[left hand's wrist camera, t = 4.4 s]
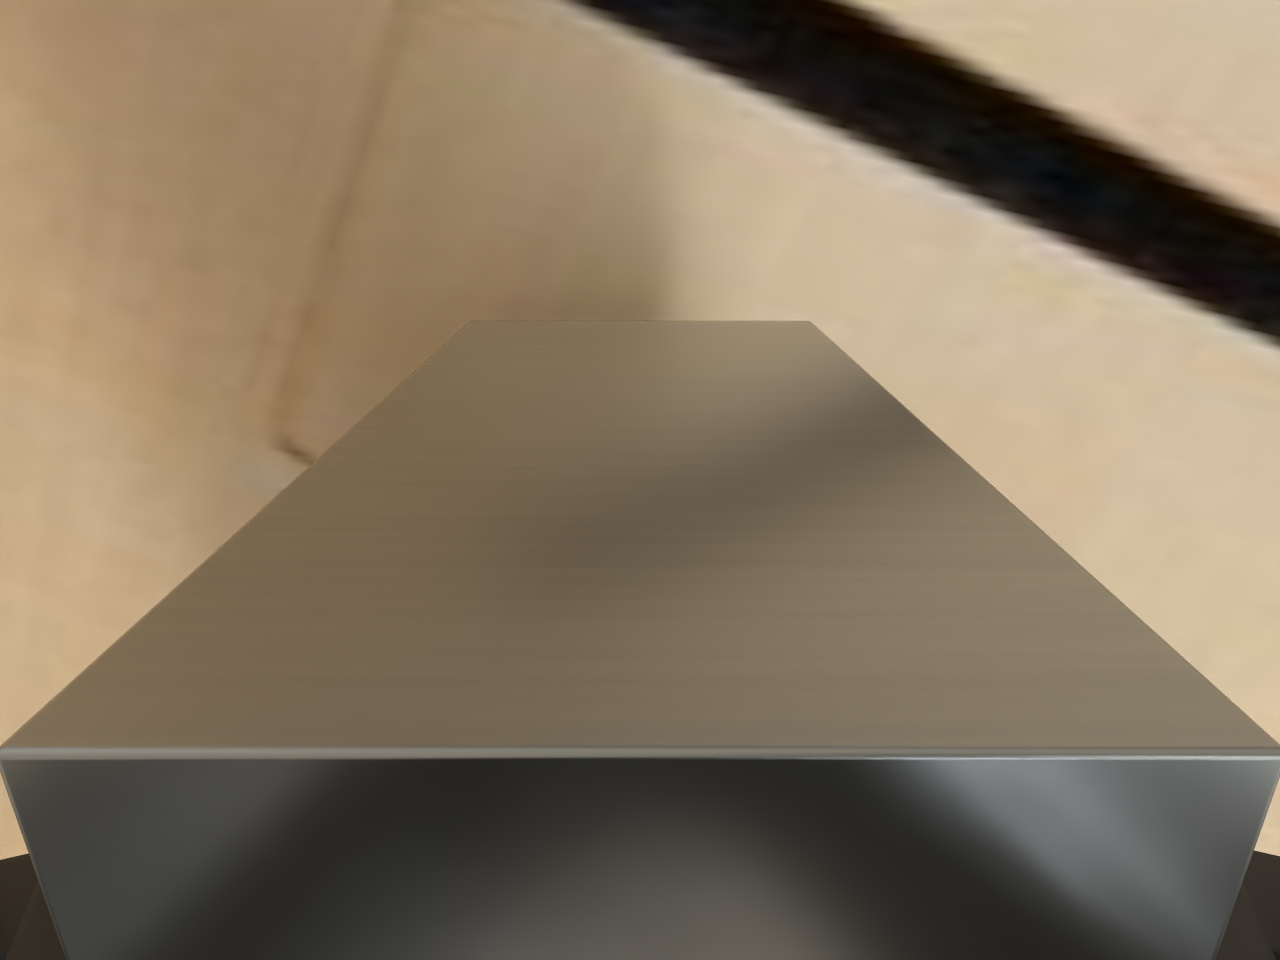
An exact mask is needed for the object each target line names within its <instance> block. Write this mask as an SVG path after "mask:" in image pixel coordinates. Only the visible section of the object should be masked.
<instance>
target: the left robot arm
mask: <svg viewBox="0 0 1280 960" xmlns="http://www.w3.org/2000/svg"><path fill="white" fill-rule="evenodd" d="M0 960H66V957H65V955H64V952H63V949H62V946H61V943H60V940H59V938H58V935H57V932H56V929H55V926H54V923H53V920H52V918H51V915H50V912H49V909H48V906H47V903H46V901H45V898H44V895H43V892H42V889H41V886H40V883H39V881H38V878H37V875H36V872H35V869H34V866H33V864H32V861H31V858H30V855H29V854H25V855H20V856H16V857H11V858H7V859H3V860H0ZM1215 960H1280V856H1275V855H1271V854H1267V853H1262V852H1258V851H1253V854H1252V856H1251V859H1250V862H1249V865H1248V868H1247V871H1246V874H1245V876H1244V879H1243V882H1242V885H1241V888H1240V891H1239V893H1238V896H1237V899H1236V902H1235V905H1234V908H1233V910H1232V913H1231V916H1230V919H1229V922H1228V925H1227V927H1226V930H1225V933H1224V936H1223V939H1222V942H1221V944H1220V947H1219V950H1218V953H1217V956H1216V959H1215Z"/></svg>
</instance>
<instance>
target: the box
mask: <svg viewBox="0 0 1280 960" xmlns="http://www.w3.org/2000/svg"><path fill="white" fill-rule="evenodd" d="M0 773H1V775H2V778H3V781H4V784H5V787H6V790H7V792H8V795H9V798H10V801H11V804H12V807H13V810H14V812H15V815H16V818H17V821H18V824H19V827H20V829H21V832H22V835H23V838H24V841H25V844H26V847H27V849H28V852H29V855H30V858H31V861H32V864H33V866H34V869H35V872H36V875H37V878H38V881H39V883H40V886H41V889H42V892H43V895H44V898H45V901H46V903H47V906H48V909H49V912H50V915H51V918H52V920H53V923H54V926H55V929H56V932H57V935H58V938H59V940H60V943H61V946H62V949H63V952H64V955H65V957H66V960H1215V959H1216V956H1217V953H1218V950H1219V947H1220V944H1221V942H1222V939H1223V936H1224V933H1225V930H1226V927H1227V925H1228V922H1229V919H1230V916H1231V913H1232V910H1233V908H1234V905H1235V902H1236V899H1237V896H1238V893H1239V891H1240V888H1241V885H1242V882H1243V879H1244V876H1245V874H1246V871H1247V868H1248V865H1249V862H1250V859H1251V856H1252V854H1253V851H1254V848H1255V845H1256V842H1257V839H1258V837H1259V834H1260V831H1261V828H1262V825H1263V822H1264V820H1265V817H1266V814H1267V811H1268V808H1269V805H1270V803H1271V800H1272V797H1273V794H1274V791H1275V788H1276V786H1277V783H1278V780H1279V777H1280V744H1278V743H1277V742H1276V741H1275V740H1274V739H1273V738H1272V737H1271V736H1270V735H1268V734H1267V733H1266V732H1265V731H1264V730H1263V729H1262V728H1261V727H1260V726H1258V725H1257V724H1256V723H1255V722H1254V721H1253V720H1252V719H1251V718H1250V717H1248V716H1247V715H1246V714H1245V713H1244V712H1243V711H1242V710H1241V709H1240V708H1239V707H1237V706H1236V705H1235V704H1234V703H1233V702H1232V701H1231V700H1230V699H1229V698H1227V697H1226V696H1225V695H1224V694H1223V693H1222V692H1221V691H1220V690H1219V689H1217V688H1216V687H1215V686H1214V685H1213V684H1212V683H1211V682H1210V681H1209V680H1207V679H1206V678H1205V677H1204V676H1203V675H1202V674H1201V673H1200V672H1199V671H1197V670H1196V669H1195V668H1194V667H1193V666H1192V665H1191V664H1190V663H1189V662H1188V661H1186V660H1185V659H1184V658H1183V657H1182V656H1181V655H1180V654H1179V653H1178V652H1176V651H1175V650H1174V649H1173V648H1172V647H1171V646H1170V645H1169V644H1168V643H1166V642H1165V641H1164V640H1163V639H1162V638H1161V637H1160V636H1159V635H1158V634H1156V633H1155V632H1154V631H1153V630H1152V629H1151V628H1150V627H1149V626H1148V625H1146V624H1145V623H1144V622H1143V621H1142V620H1141V619H1140V618H1139V617H1138V616H1137V615H1135V614H1134V613H1133V612H1132V611H1131V610H1130V609H1129V608H1128V607H1127V606H1125V605H1124V604H1123V603H1122V602H1121V601H1120V600H1119V599H1118V598H1117V597H1115V596H1114V595H1113V594H1112V593H1111V592H1110V591H1109V590H1108V589H1107V588H1105V587H1104V586H1103V585H1102V584H1101V583H1100V582H1099V581H1098V580H1097V579H1095V578H1094V577H1093V576H1092V575H1091V574H1090V573H1089V572H1088V571H1087V570H1085V569H1084V568H1083V567H1082V566H1081V565H1080V564H1079V563H1078V562H1077V561H1076V560H1074V559H1073V558H1072V557H1071V556H1070V555H1069V554H1068V553H1067V552H1066V551H1064V550H1063V549H1062V548H1061V547H1060V546H1059V545H1058V544H1057V543H1056V542H1054V541H1053V540H1052V539H1051V538H1050V537H1049V536H1048V535H1047V534H1046V533H1044V532H1043V531H1042V530H1041V529H1040V528H1039V527H1038V526H1037V525H1036V524H1034V523H1033V522H1032V521H1031V520H1030V519H1029V518H1028V517H1027V516H1026V515H1025V514H1023V513H1022V512H1021V511H1020V510H1019V509H1018V508H1017V507H1016V506H1015V505H1013V504H1012V503H1011V502H1010V501H1009V500H1008V499H1007V498H1006V497H1005V496H1003V495H1002V494H1001V493H1000V492H999V491H998V490H997V489H996V488H995V487H993V486H992V485H991V484H990V483H989V482H988V481H987V480H986V479H985V478H983V477H982V476H981V475H980V474H979V473H978V472H977V471H976V470H975V469H974V468H972V467H971V466H970V465H969V464H968V463H967V462H966V461H965V460H964V459H962V458H961V457H960V456H959V455H958V454H957V453H956V452H955V451H954V450H952V449H951V448H950V447H949V446H948V445H947V444H946V443H945V442H944V441H942V440H941V439H940V438H939V437H938V436H937V435H936V434H935V433H934V432H932V431H931V430H930V429H929V428H928V427H927V426H926V425H925V424H924V423H922V422H921V421H920V420H919V419H918V418H917V417H916V416H915V415H914V414H913V413H911V412H910V411H909V410H908V409H907V408H906V407H905V406H904V405H903V404H901V403H900V402H899V401H898V400H897V399H896V398H895V397H894V396H893V395H891V394H890V393H889V392H888V391H887V390H886V389H885V388H884V387H883V386H881V385H880V384H879V383H878V382H877V381H876V380H875V379H874V378H873V377H871V376H870V375H869V374H868V373H867V372H866V371H865V370H864V369H863V368H862V367H860V366H859V365H858V364H857V363H856V362H855V361H854V360H853V359H852V358H850V357H849V356H848V355H847V354H846V353H845V352H844V351H843V350H842V349H840V348H839V347H838V346H837V345H836V344H835V343H834V342H833V341H832V340H830V339H829V338H828V337H827V336H826V335H825V334H824V333H823V332H822V331H820V330H819V329H818V328H817V327H816V326H815V325H814V324H813V323H812V322H810V321H470V322H469V323H468V324H467V325H465V326H464V327H463V328H462V329H461V330H460V331H459V332H458V333H457V334H456V335H454V336H453V337H452V338H451V339H450V340H449V341H448V342H447V343H446V344H444V345H443V346H442V347H441V348H440V349H439V350H438V351H437V352H436V353H435V354H433V355H432V356H431V357H430V358H429V359H428V360H427V361H426V362H425V363H423V364H422V365H421V366H420V367H419V368H418V369H417V370H416V371H415V372H413V373H412V374H411V375H410V376H409V377H408V378H407V379H406V380H405V381H404V382H402V383H401V384H400V385H399V386H398V387H397V388H396V389H395V390H394V391H392V392H391V393H390V394H389V395H388V396H387V397H386V398H385V399H384V400H383V401H381V402H380V403H379V404H378V405H377V406H376V407H375V408H374V409H373V410H371V411H370V412H369V413H368V414H367V415H366V416H365V417H364V418H363V419H362V420H360V421H359V422H358V423H357V424H356V425H355V426H354V427H353V428H352V429H350V430H349V431H348V432H347V433H346V434H345V435H344V436H343V437H342V438H340V439H339V440H338V441H337V442H336V443H335V444H334V445H333V446H332V447H331V448H329V449H328V450H327V451H326V452H325V453H324V454H323V455H322V456H321V457H319V458H318V459H317V460H316V461H315V462H314V463H313V464H312V465H311V466H310V467H308V468H307V469H306V470H305V471H304V472H303V473H302V474H301V475H300V476H298V477H297V478H296V479H295V480H294V481H293V482H292V483H291V484H290V485H289V486H287V487H286V488H285V489H284V490H283V491H282V492H281V493H280V494H279V495H277V496H276V497H275V498H274V499H273V500H272V501H271V502H270V503H269V504H267V505H266V506H265V507H264V508H263V509H262V510H261V511H260V512H259V513H258V514H256V515H255V516H254V517H253V518H252V519H251V520H250V521H249V522H248V523H246V524H245V525H244V526H243V527H242V528H241V529H240V530H239V531H238V532H237V533H235V534H234V535H233V536H232V537H231V538H230V539H229V540H228V541H227V542H225V543H224V544H223V545H222V546H221V547H220V548H219V549H218V550H217V551H216V552H214V553H213V554H212V555H211V556H210V557H209V558H208V559H207V560H206V561H204V562H203V563H202V564H201V565H200V566H199V567H198V568H197V569H196V570H194V571H193V572H192V573H191V574H190V575H189V576H188V577H187V578H186V579H185V580H183V581H182V582H181V583H180V584H179V585H178V586H177V587H176V588H175V589H173V590H172V591H171V592H170V593H169V594H168V595H167V596H166V597H165V598H164V599H162V600H161V601H160V602H159V603H158V604H157V605H156V606H155V607H154V608H152V609H151V610H150V611H149V612H148V613H147V614H146V615H145V616H144V617H143V618H141V619H140V620H139V621H138V622H137V623H136V624H135V625H134V626H133V627H131V628H130V629H129V630H128V631H127V632H126V633H125V634H124V635H123V636H121V637H120V638H119V639H118V640H117V641H116V642H115V643H114V644H113V645H112V646H110V647H109V648H108V649H107V650H106V651H105V652H104V653H103V654H102V655H100V656H99V657H98V658H97V659H96V660H95V661H94V662H93V663H92V664H91V665H89V666H88V667H87V668H86V669H85V670H84V671H83V672H82V673H81V674H79V675H78V676H77V677H76V678H75V679H74V680H73V681H72V682H71V683H70V684H68V685H67V686H66V687H65V688H64V689H63V690H62V691H61V692H60V693H58V694H57V695H56V696H55V697H54V698H53V699H52V700H51V701H50V702H48V703H47V704H46V705H45V706H44V707H43V708H42V709H41V710H40V711H39V712H37V713H36V714H35V715H34V716H33V717H32V718H31V719H30V720H29V721H27V722H26V723H25V724H24V725H23V726H22V727H21V728H20V729H19V730H18V731H16V732H15V733H14V734H13V735H12V736H11V737H10V738H9V739H8V740H6V741H5V742H4V743H3V744H2V745H1V746H0Z"/></svg>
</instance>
